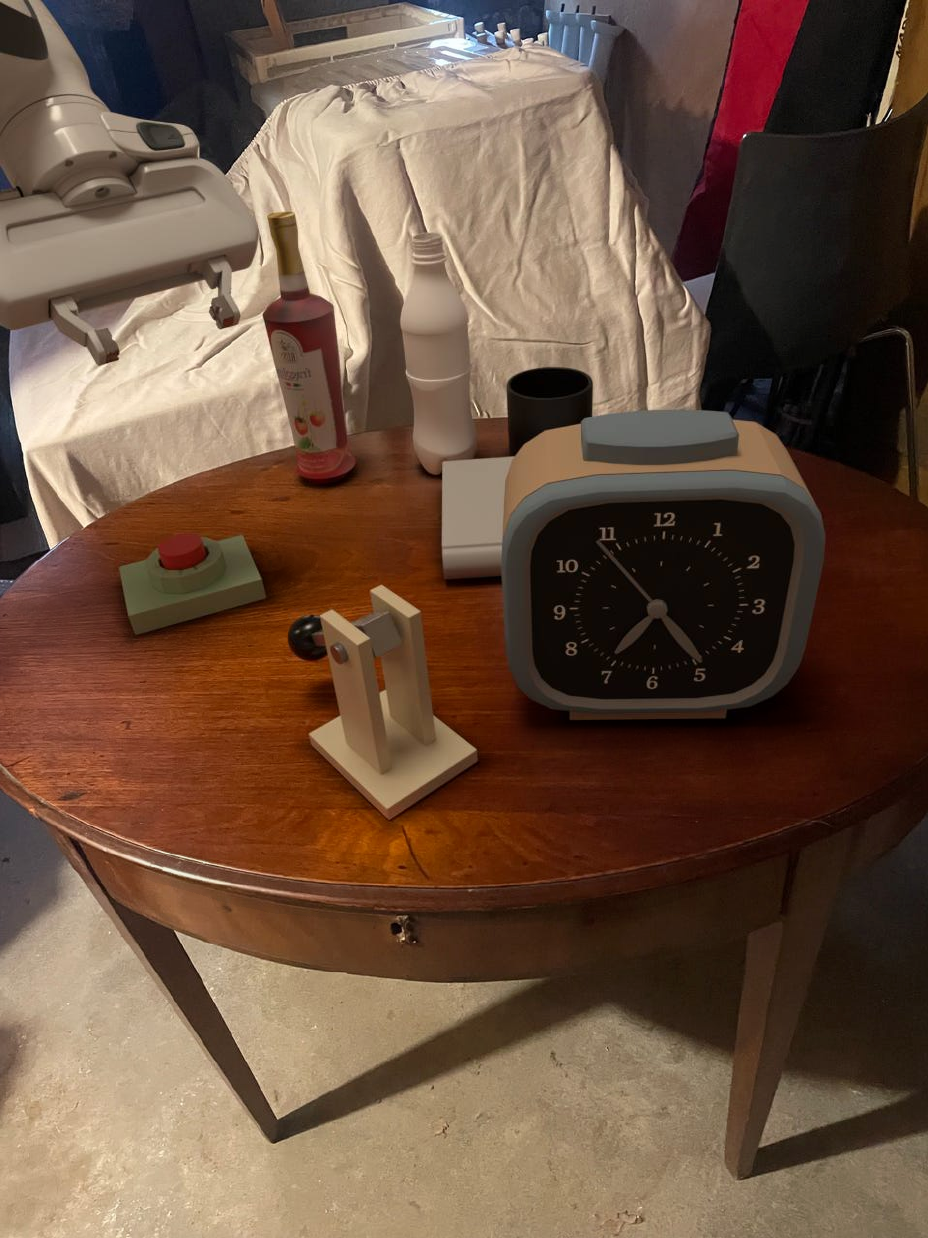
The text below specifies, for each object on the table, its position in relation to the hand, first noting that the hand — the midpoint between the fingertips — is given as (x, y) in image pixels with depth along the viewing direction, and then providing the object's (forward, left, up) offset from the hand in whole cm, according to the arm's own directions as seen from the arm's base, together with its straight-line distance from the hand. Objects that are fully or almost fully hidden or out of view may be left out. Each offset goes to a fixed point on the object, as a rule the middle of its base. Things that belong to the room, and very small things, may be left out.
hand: (172, 340), depth 63 cm
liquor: (+14, +25, -26) cm, 39 cm away
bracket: (+6, -21, -26) cm, 34 cm away
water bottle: (+27, +20, -26) cm, 43 cm away
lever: (+5, -17, -19) cm, 26 cm away
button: (-4, +8, -22) cm, 24 cm away
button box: (-4, +8, -26) cm, 27 cm away
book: (+32, +1, -26) cm, 42 cm away
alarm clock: (+26, -23, -26) cm, 44 cm away
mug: (+38, +17, -26) cm, 49 cm away
